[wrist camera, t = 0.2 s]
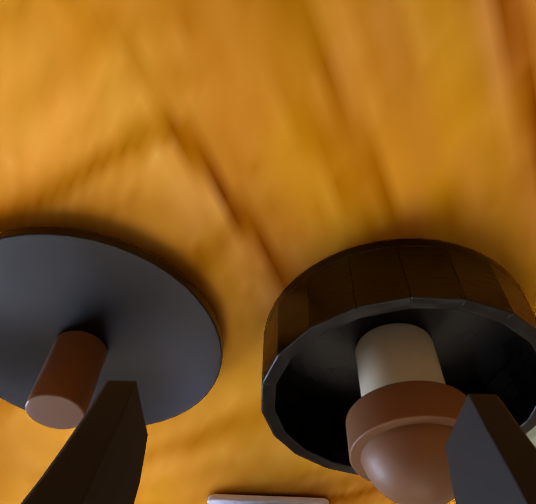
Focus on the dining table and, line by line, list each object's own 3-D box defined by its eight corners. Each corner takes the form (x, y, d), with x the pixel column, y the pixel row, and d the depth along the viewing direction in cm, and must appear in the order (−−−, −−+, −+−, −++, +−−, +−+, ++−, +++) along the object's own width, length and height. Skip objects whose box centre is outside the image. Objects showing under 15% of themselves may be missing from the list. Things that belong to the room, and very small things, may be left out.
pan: (483, 420, 28) (505, 481, 26) (261, 412, 28) (259, 472, 26) (569, 243, 21) (613, 304, 18) (267, 233, 21) (264, 291, 18)
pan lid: (227, 415, 29) (219, 497, 25) (-6, 406, 29) (-48, 487, 25) (219, 223, 21) (206, 303, 17) (-105, 212, 21) (-188, 289, 17)
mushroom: (436, 385, 26) (479, 537, 20) (332, 381, 26) (346, 531, 20) (463, 311, 22) (523, 467, 17) (344, 307, 23) (364, 460, 17)
